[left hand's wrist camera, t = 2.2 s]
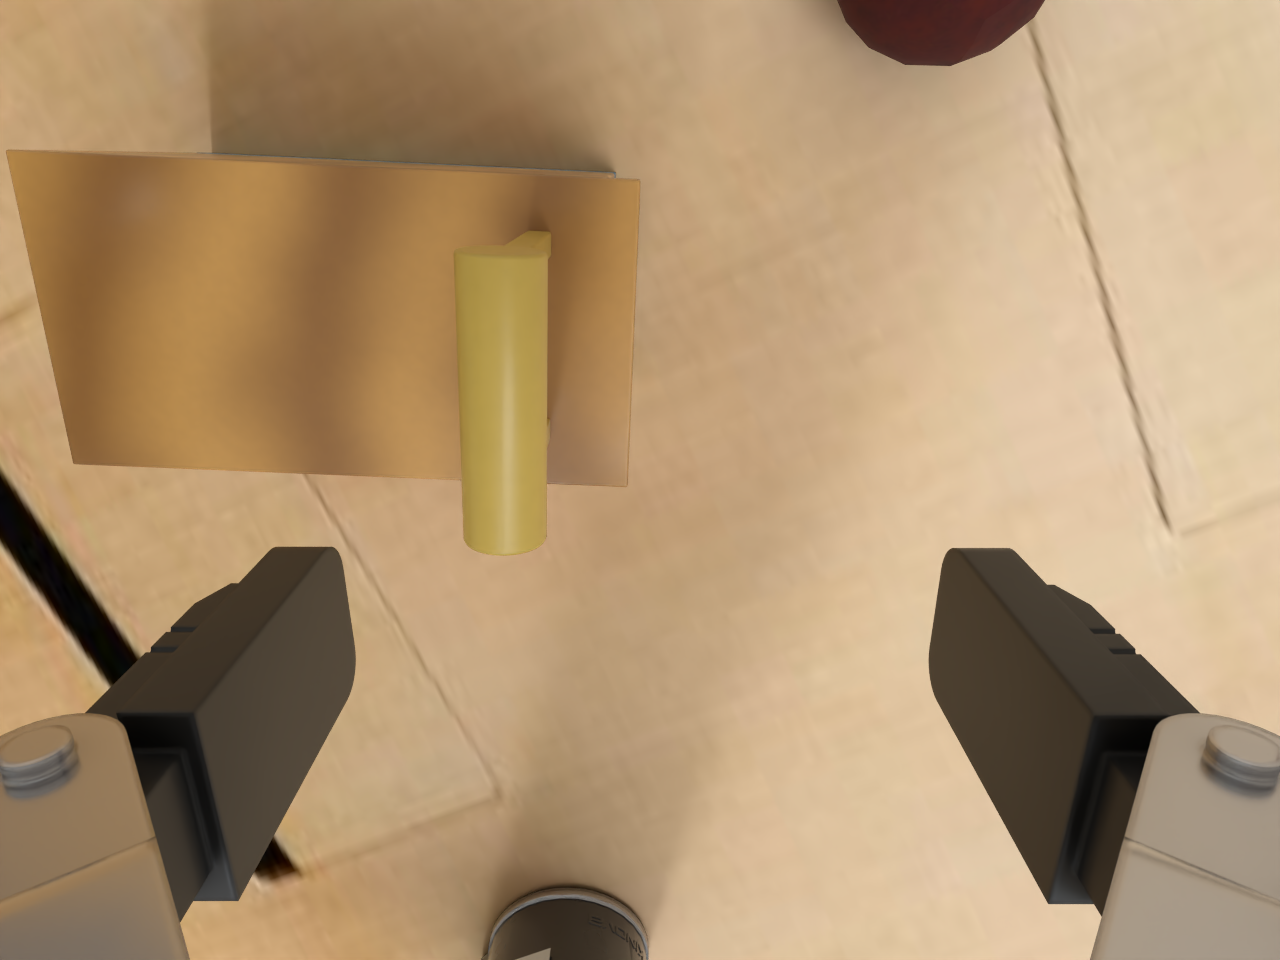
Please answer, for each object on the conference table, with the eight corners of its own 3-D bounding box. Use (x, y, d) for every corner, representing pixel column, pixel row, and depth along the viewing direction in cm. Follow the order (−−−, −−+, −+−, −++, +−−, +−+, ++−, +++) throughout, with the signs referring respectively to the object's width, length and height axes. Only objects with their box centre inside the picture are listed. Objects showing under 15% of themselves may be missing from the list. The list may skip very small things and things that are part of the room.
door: (640, 179, 24) (641, 188, 15) (627, 477, 27) (622, 614, 19) (27, 149, 23) (-300, 144, 15) (90, 455, 27) (-151, 584, 18)
